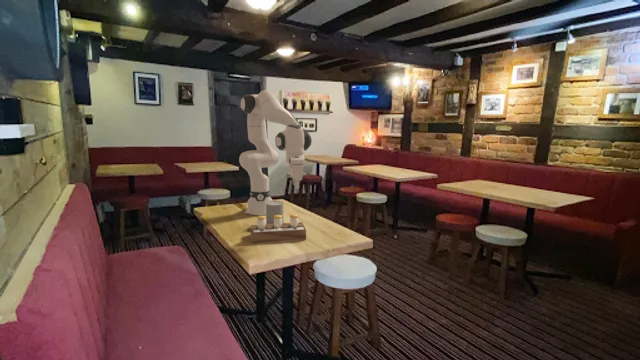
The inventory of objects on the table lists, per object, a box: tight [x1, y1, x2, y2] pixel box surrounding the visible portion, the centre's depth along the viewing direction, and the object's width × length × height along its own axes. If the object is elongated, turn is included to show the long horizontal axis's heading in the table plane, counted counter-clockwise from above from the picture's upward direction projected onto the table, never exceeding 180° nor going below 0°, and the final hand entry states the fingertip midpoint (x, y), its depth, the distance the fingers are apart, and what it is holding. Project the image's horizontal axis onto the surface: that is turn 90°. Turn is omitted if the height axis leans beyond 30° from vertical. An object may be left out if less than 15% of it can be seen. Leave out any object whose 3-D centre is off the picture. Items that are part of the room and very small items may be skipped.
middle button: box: [274, 215, 282, 229], centre depth 164 cm, size 4×4×8 cm
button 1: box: [256, 215, 266, 230], centre depth 163 cm, size 4×4×8 cm
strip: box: [253, 227, 304, 233], centre depth 160 cm, size 3×24×1 cm, turn 102°
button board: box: [250, 222, 307, 244], centre depth 165 cm, size 12×26×5 cm, turn 102°
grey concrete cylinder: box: [265, 200, 284, 224], centre depth 184 cm, size 10×10×12 cm
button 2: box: [289, 213, 299, 228], centre depth 166 cm, size 4×4×8 cm
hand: (296, 186), depth 163 cm, fingers open, 8 cm apart
